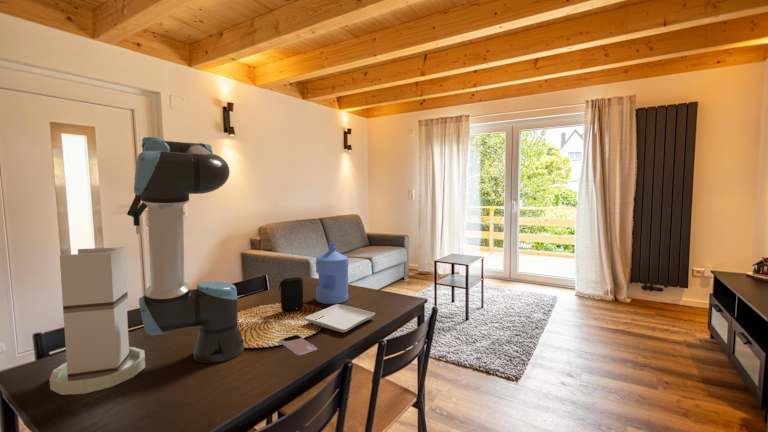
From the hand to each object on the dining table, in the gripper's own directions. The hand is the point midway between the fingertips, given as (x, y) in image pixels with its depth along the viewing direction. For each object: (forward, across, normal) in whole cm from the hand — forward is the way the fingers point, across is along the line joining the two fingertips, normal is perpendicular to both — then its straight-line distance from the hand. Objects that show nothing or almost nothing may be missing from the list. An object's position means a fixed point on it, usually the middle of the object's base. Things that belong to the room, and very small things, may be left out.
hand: (157, 232), depth 138 cm
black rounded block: (+37, -34, +37) cm, 62 cm away
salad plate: (+37, -32, +64) cm, 81 cm away
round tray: (+37, +32, +22) cm, 53 cm away
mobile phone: (+37, -8, +62) cm, 73 cm away
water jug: (+37, -55, +45) cm, 80 cm away
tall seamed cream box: (+36, +32, +21) cm, 52 cm away
